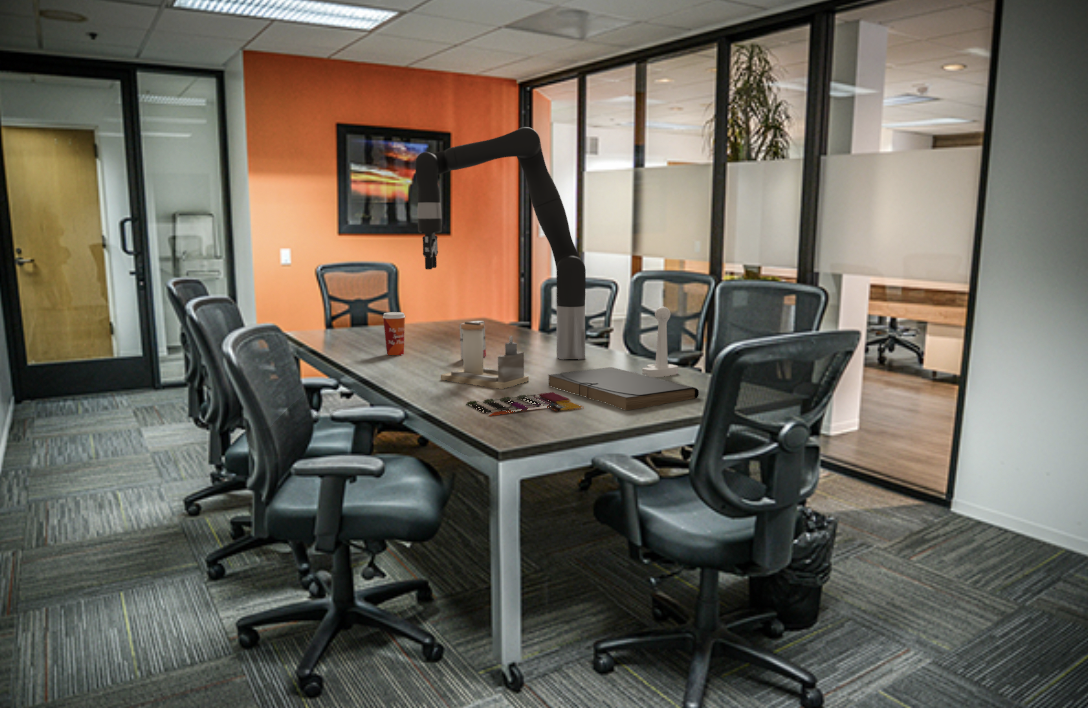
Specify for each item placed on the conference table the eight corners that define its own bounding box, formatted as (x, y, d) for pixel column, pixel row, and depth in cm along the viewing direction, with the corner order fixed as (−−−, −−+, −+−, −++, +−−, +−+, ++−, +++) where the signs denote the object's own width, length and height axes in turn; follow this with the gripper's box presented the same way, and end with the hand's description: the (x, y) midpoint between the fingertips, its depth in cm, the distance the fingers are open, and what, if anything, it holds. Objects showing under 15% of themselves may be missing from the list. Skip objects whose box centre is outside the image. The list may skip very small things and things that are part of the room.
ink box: (473, 355, 255) (472, 320, 253) (486, 356, 253) (485, 321, 251) (459, 359, 247) (458, 323, 245) (472, 360, 245) (472, 324, 243)
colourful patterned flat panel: (554, 396, 198) (554, 386, 198) (589, 410, 183) (589, 399, 182) (465, 407, 187) (464, 396, 186) (494, 424, 171) (494, 412, 171)
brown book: (547, 373, 206) (616, 365, 220) (546, 388, 207) (615, 379, 220) (625, 396, 179) (699, 385, 193) (625, 413, 180) (698, 401, 193)
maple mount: (440, 379, 216) (440, 350, 214) (468, 372, 225) (467, 344, 224) (502, 389, 203) (501, 358, 202) (528, 381, 213) (528, 351, 212)
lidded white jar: (457, 373, 215) (455, 323, 213) (472, 370, 221) (471, 320, 218) (474, 376, 212) (473, 324, 209) (489, 372, 217) (489, 322, 215)
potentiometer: (502, 354, 207) (502, 336, 206) (510, 352, 210) (509, 334, 209) (512, 355, 205) (512, 337, 205) (519, 354, 208) (519, 335, 207)
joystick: (651, 378, 217) (653, 308, 213) (634, 374, 223) (635, 306, 220) (680, 374, 223) (682, 306, 219) (663, 369, 229) (665, 303, 226)
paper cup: (391, 357, 252) (389, 315, 249) (379, 354, 257) (377, 313, 255) (411, 354, 257) (410, 313, 255) (399, 351, 263) (398, 311, 260)
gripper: (437, 217, 235) (439, 270, 238) (444, 217, 249) (445, 267, 252) (413, 217, 235) (415, 270, 238) (421, 217, 249) (423, 267, 252)
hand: (431, 268), depth 245 cm, fingers open, 8 cm apart
